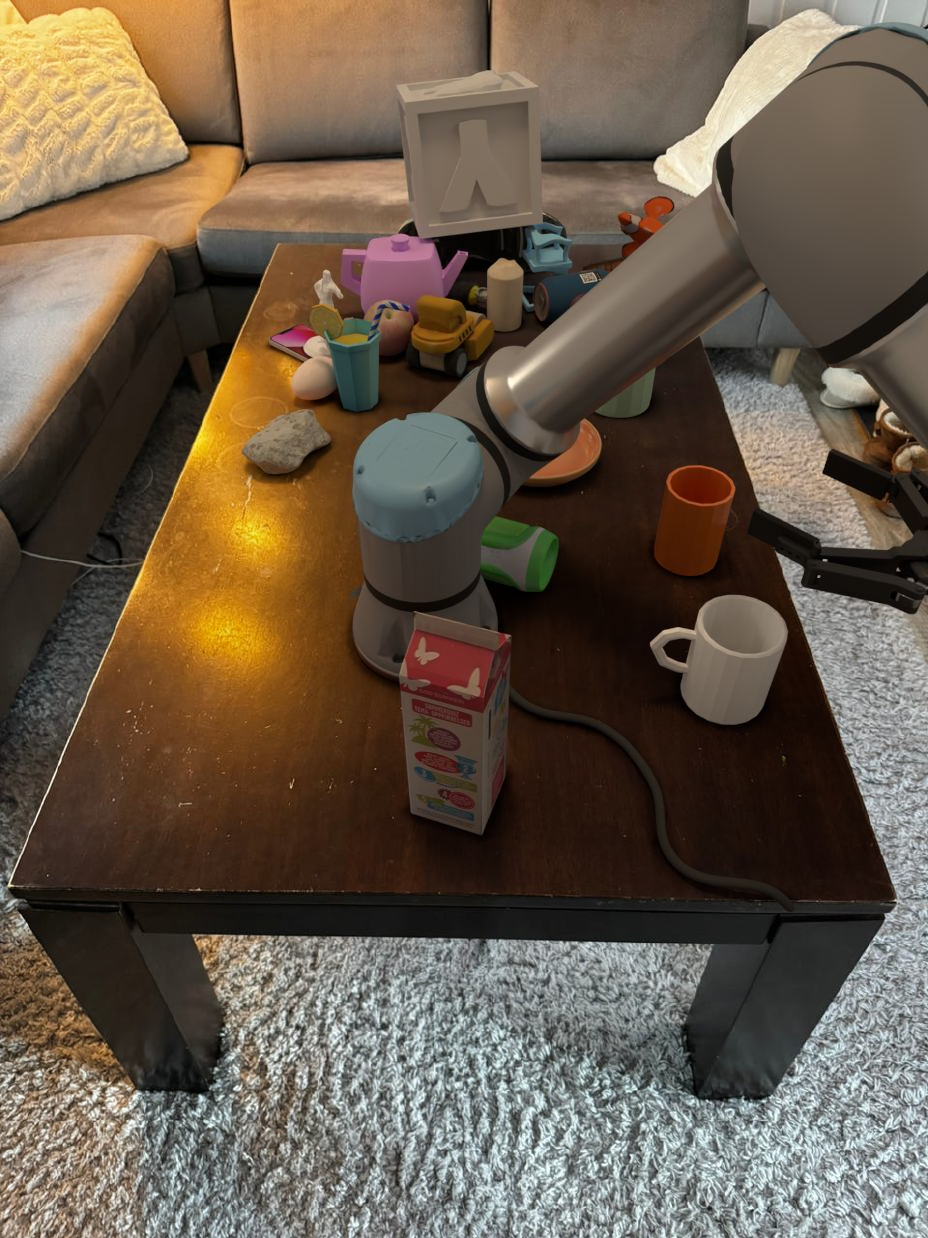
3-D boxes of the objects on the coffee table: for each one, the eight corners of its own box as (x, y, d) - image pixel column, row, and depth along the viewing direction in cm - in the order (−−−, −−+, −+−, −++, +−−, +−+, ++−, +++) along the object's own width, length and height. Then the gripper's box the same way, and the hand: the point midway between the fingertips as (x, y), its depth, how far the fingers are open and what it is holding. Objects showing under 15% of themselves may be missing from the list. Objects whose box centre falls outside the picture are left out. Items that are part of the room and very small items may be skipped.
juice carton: (437, 755, 84) (429, 583, 69) (505, 775, 82) (513, 603, 67) (410, 813, 80) (395, 643, 64) (481, 835, 78) (483, 666, 62)
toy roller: (497, 340, 139) (497, 274, 131) (455, 387, 130) (452, 319, 122) (446, 329, 142) (443, 264, 134) (402, 374, 133) (396, 307, 125)
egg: (322, 362, 131) (279, 387, 128) (328, 340, 126) (284, 365, 123) (346, 390, 131) (303, 416, 127) (353, 370, 126) (309, 396, 122)
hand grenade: (432, 280, 145) (482, 294, 141) (449, 267, 147) (499, 281, 143) (436, 305, 149) (485, 320, 144) (452, 292, 151) (501, 306, 146)
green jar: (662, 408, 126) (675, 328, 117) (605, 423, 123) (614, 343, 114) (627, 377, 132) (638, 298, 123) (572, 391, 129) (579, 312, 120)
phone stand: (576, 306, 147) (582, 232, 138) (527, 312, 146) (530, 237, 137) (561, 285, 152) (566, 213, 144) (514, 291, 151) (516, 218, 142)
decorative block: (409, 209, 153) (394, 73, 141) (520, 196, 154) (515, 59, 142) (419, 239, 138) (403, 89, 126) (542, 224, 139) (538, 74, 127)
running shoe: (570, 212, 148) (570, 192, 157) (394, 202, 149) (403, 182, 158) (563, 281, 155) (563, 258, 164) (395, 270, 156) (404, 248, 165)
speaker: (532, 602, 95) (551, 589, 102) (547, 536, 93) (565, 527, 100) (384, 559, 100) (412, 549, 107) (395, 495, 98) (423, 489, 105)
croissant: (666, 247, 148) (669, 279, 149) (650, 254, 154) (653, 284, 155) (588, 260, 146) (592, 292, 147) (575, 266, 152) (579, 297, 153)
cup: (417, 388, 130) (412, 288, 119) (411, 418, 124) (406, 315, 114) (321, 385, 131) (308, 285, 120) (312, 415, 125) (297, 313, 114)
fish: (643, 177, 145) (620, 177, 158) (605, 252, 149) (586, 246, 162) (742, 234, 150) (712, 230, 163) (702, 305, 154) (676, 296, 168)
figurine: (293, 346, 134) (293, 266, 126) (328, 334, 139) (330, 256, 131) (326, 365, 132) (328, 284, 124) (361, 352, 136) (365, 273, 128)
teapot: (340, 334, 141) (331, 254, 132) (347, 298, 150) (339, 220, 141) (468, 333, 141) (468, 253, 132) (468, 297, 149) (467, 219, 140)
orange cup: (729, 565, 103) (748, 494, 95) (676, 583, 100) (691, 512, 93) (693, 528, 107) (709, 458, 100) (641, 545, 105) (654, 475, 98)
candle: (481, 319, 144) (481, 258, 137) (511, 312, 146) (513, 251, 139) (496, 334, 141) (497, 272, 134) (527, 327, 142) (530, 265, 135)
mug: (636, 661, 92) (650, 591, 85) (755, 664, 92) (777, 594, 85) (644, 723, 87) (659, 654, 80) (770, 726, 86) (796, 657, 79)
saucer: (583, 506, 110) (585, 486, 108) (460, 481, 114) (459, 462, 112) (611, 436, 121) (613, 416, 118) (497, 415, 124) (498, 396, 122)
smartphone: (333, 372, 131) (265, 338, 138) (334, 378, 132) (266, 344, 139) (369, 354, 135) (301, 322, 142) (369, 360, 136) (302, 327, 143)
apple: (397, 375, 136) (381, 337, 129) (362, 356, 139) (344, 318, 132) (430, 339, 137) (416, 300, 130) (395, 321, 141) (379, 282, 134)
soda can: (612, 322, 145) (543, 334, 143) (595, 291, 148) (528, 303, 145) (623, 288, 139) (552, 300, 136) (605, 257, 142) (535, 268, 139)
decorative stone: (325, 482, 114) (321, 449, 111) (240, 483, 114) (233, 450, 111) (335, 428, 123) (330, 395, 119) (255, 428, 123) (249, 396, 119)
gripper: (925, 701, 74) (710, 578, 85) (1047, 560, 86) (845, 468, 97) (959, 638, 69) (725, 515, 80) (1084, 497, 81) (866, 407, 92)
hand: (790, 489), depth 88 cm, fingers open, 13 cm apart
